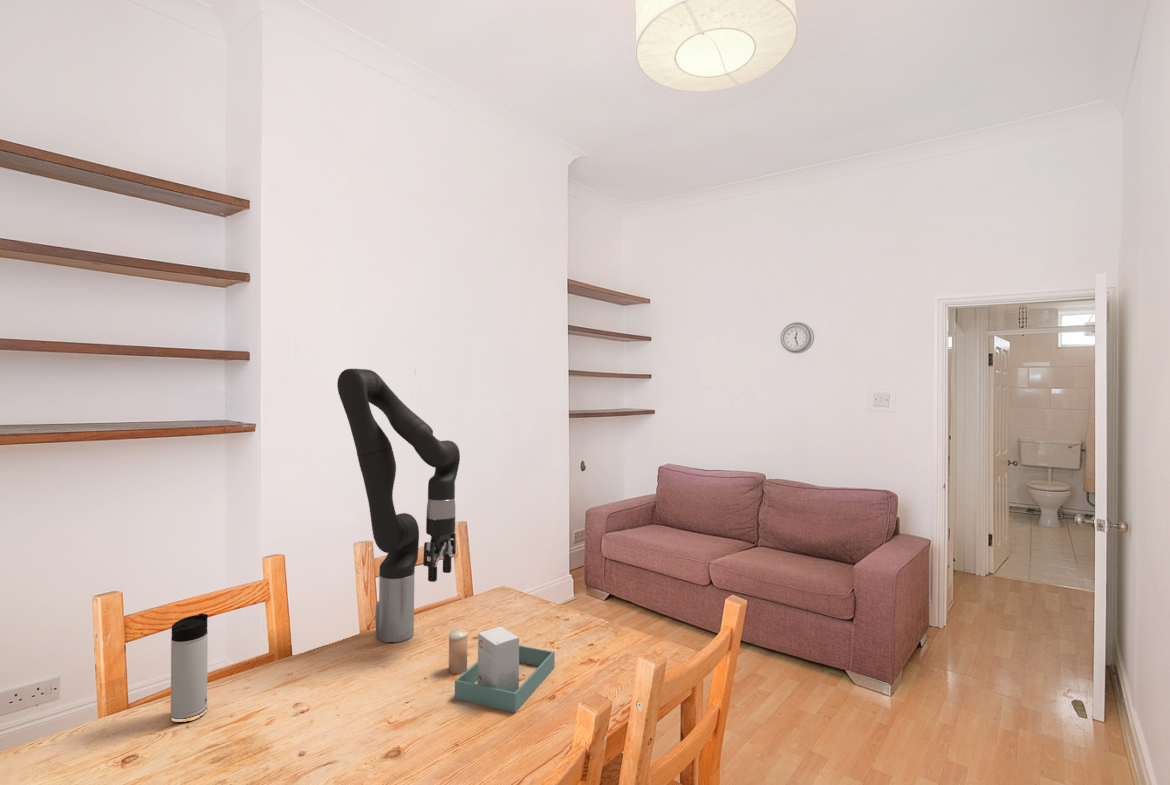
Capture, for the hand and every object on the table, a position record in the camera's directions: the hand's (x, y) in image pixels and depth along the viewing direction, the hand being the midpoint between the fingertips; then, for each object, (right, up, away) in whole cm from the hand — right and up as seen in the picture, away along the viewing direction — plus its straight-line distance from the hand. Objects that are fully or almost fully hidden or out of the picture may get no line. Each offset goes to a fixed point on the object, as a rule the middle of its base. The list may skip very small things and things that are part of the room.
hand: (439, 576), depth 154 cm
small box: (+19, -19, -23) cm, 35 cm away
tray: (+21, -19, -19) cm, 34 cm away
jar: (+8, -19, -13) cm, 24 cm away
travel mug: (-44, -18, -34) cm, 58 cm away
